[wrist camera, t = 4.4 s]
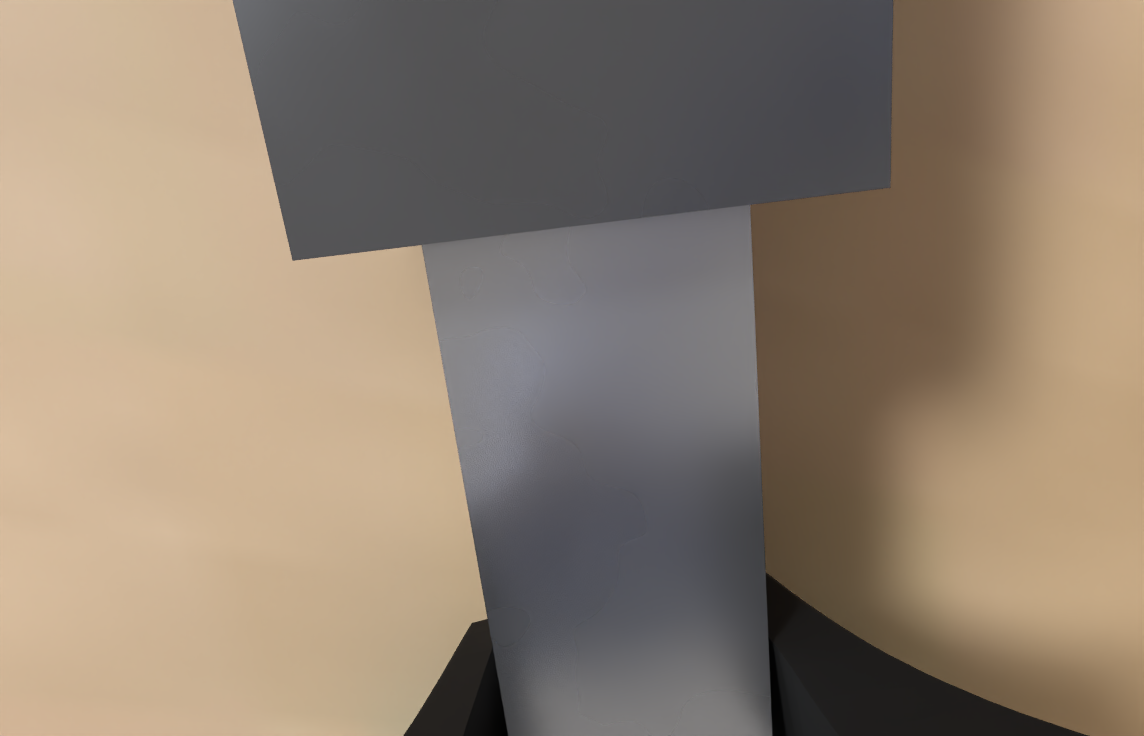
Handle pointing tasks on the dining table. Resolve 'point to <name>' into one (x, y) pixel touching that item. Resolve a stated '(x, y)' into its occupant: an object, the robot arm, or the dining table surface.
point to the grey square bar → (613, 470)
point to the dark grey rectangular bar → (559, 111)
